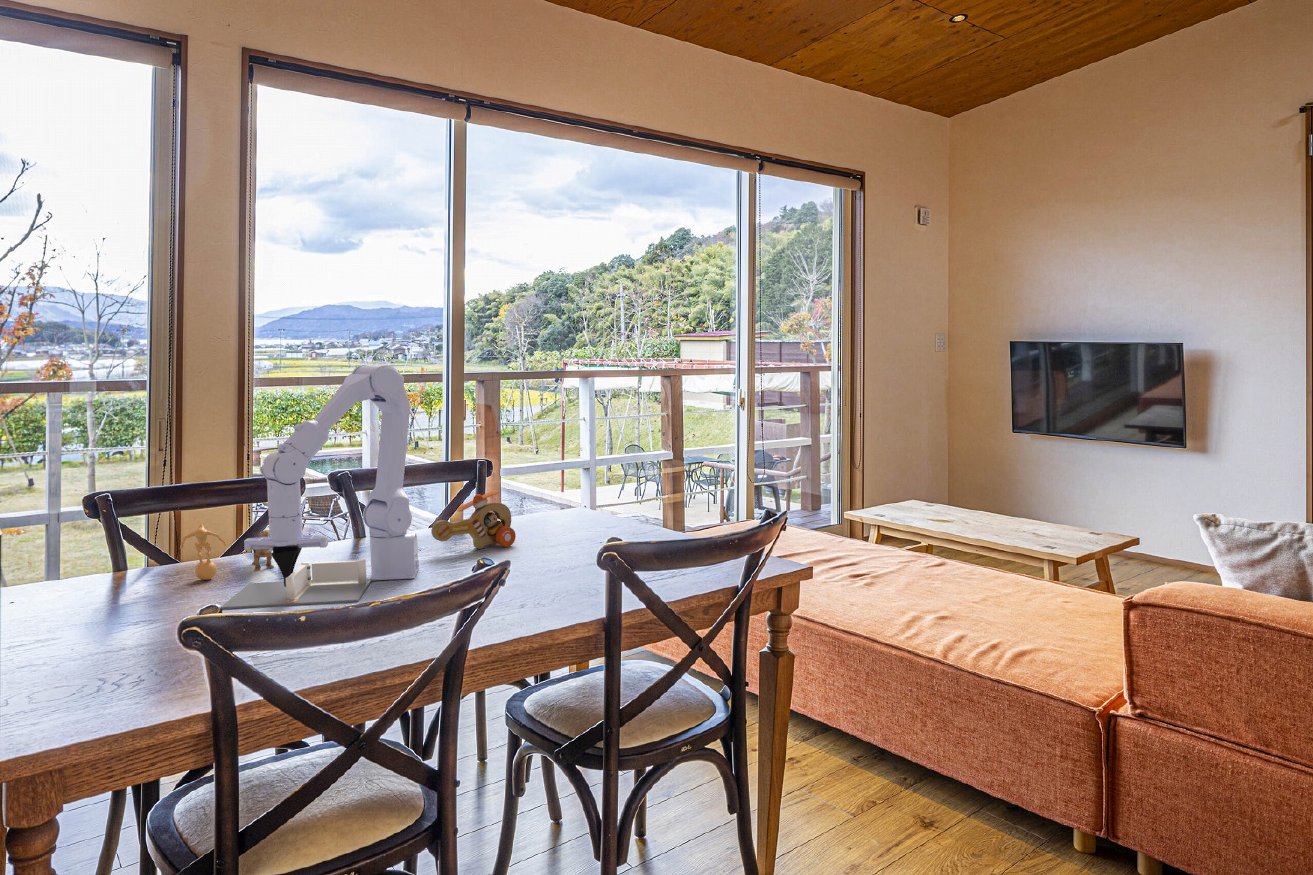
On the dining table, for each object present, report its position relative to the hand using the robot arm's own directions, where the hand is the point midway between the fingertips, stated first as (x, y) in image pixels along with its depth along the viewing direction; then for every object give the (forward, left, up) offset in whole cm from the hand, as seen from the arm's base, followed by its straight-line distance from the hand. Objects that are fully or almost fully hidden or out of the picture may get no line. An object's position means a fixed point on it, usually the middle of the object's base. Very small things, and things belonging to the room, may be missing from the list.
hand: (288, 585), depth 156 cm
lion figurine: (+12, -27, -3) cm, 29 cm away
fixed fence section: (-7, -7, -2) cm, 10 cm away
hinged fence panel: (-1, -1, -1) cm, 2 cm away
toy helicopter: (-33, -34, -3) cm, 48 cm away
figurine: (+20, -16, -3) cm, 26 cm away
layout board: (-2, -3, -3) cm, 4 cm away
